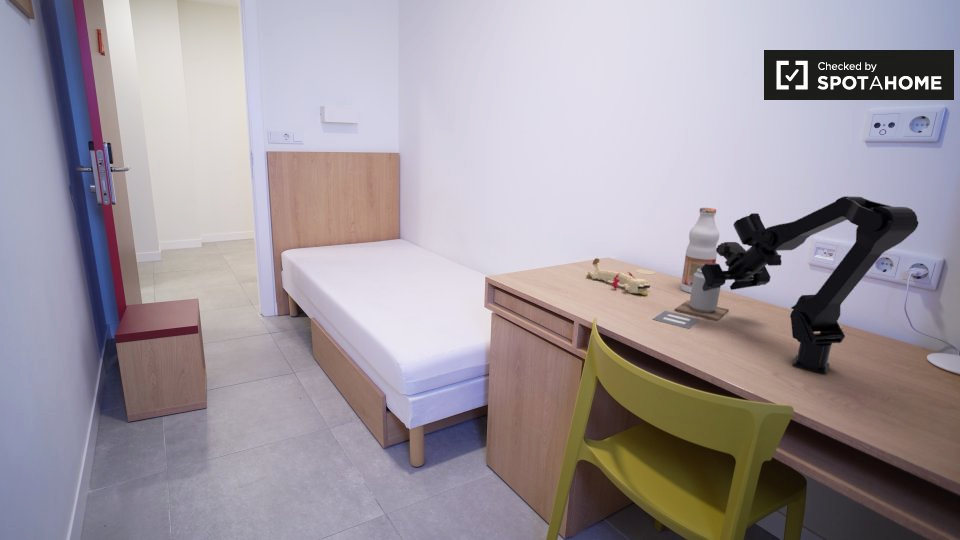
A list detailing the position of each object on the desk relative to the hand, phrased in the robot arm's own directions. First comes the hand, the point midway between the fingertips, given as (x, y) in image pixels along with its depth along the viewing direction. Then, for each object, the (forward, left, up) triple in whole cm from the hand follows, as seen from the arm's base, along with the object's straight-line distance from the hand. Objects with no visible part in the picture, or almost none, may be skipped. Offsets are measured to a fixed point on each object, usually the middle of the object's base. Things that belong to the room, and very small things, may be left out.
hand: (717, 288), depth 140 cm
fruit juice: (+24, +12, -9) cm, 28 cm away
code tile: (-10, +7, -8) cm, 15 cm away
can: (+3, +4, -8) cm, 9 cm away
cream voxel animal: (+9, +33, -9) cm, 35 cm away
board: (+3, +4, -8) cm, 10 cm away
